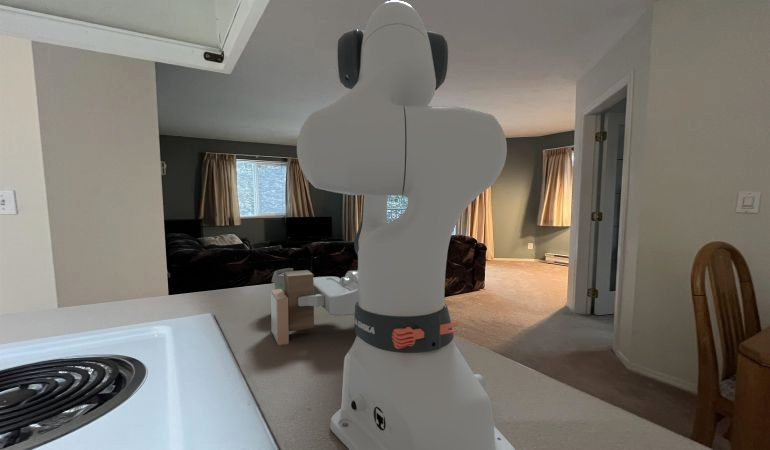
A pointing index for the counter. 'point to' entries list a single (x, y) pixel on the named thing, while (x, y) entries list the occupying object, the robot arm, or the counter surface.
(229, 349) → the counter surface
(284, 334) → the tile
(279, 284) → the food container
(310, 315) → the block
